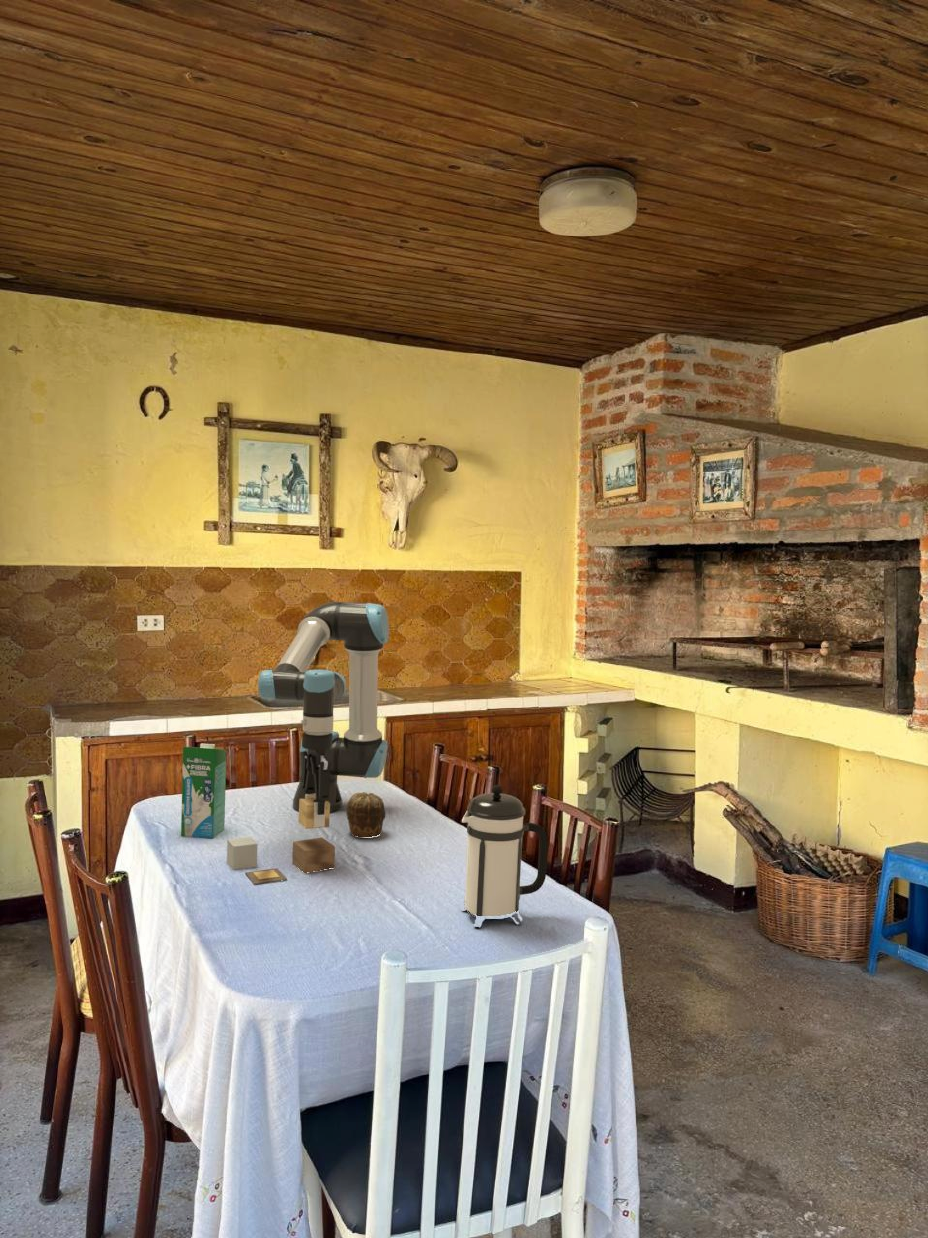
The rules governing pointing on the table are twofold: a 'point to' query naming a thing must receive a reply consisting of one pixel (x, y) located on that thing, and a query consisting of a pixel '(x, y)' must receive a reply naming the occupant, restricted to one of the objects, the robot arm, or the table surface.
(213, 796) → the milk carton
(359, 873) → the table surface
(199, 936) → the table surface
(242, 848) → the beige cube
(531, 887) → the coffee press
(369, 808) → the shell
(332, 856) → the walnut block
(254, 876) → the tile
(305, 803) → the maple cube
